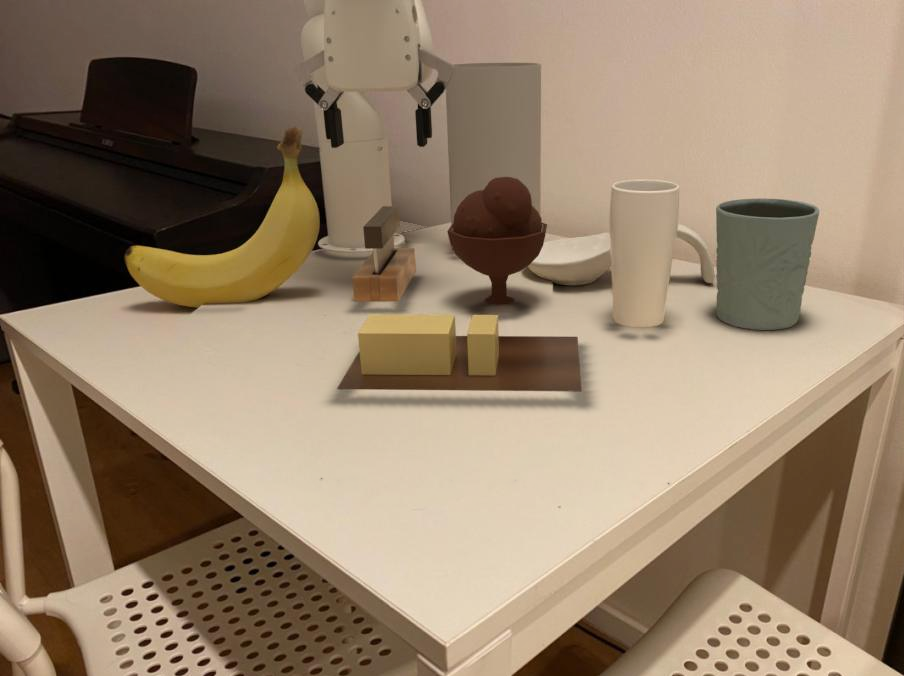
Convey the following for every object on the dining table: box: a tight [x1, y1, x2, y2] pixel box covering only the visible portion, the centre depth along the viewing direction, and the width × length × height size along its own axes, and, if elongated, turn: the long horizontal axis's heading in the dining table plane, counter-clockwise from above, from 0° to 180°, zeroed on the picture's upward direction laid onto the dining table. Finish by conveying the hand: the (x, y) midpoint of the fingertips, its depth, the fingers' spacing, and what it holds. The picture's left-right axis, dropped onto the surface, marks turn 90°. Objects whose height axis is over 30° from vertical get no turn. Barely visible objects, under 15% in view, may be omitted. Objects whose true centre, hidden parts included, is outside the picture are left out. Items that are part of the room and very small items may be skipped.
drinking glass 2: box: [608, 179, 681, 328], centre depth 82 cm, size 7×7×15 cm
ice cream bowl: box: [446, 177, 548, 306], centre depth 88 cm, size 11×11×15 cm
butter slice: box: [466, 314, 500, 376], centre depth 72 cm, size 5×2×4 cm, turn 177°
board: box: [336, 335, 583, 393], centre depth 74 cm, size 13×21×1 cm, turn 87°
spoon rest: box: [527, 223, 715, 286], centre depth 100 cm, size 24×12×7 cm, turn 85°
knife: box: [363, 205, 401, 275], centre depth 95 cm, size 11×2×8 cm, turn 177°
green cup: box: [715, 198, 820, 331], centre depth 85 cm, size 10×10×12 cm
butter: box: [357, 313, 457, 375], centre depth 73 cm, size 5×8×4 cm, turn 87°
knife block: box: [351, 247, 417, 302], centre depth 97 cm, size 13×5×4 cm, turn 176°
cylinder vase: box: [445, 62, 542, 250], centre depth 109 cm, size 12×12×25 cm
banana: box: [124, 126, 321, 309], centre depth 90 cm, size 23×6×20 cm, turn 91°
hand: (380, 145), depth 90 cm, fingers open, 9 cm apart
